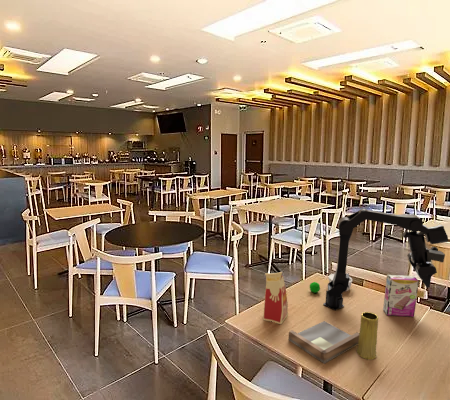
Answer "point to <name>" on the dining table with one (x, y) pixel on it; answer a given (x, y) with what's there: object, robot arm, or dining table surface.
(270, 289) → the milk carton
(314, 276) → the dining table surface
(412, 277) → the candy bar box
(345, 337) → the arena
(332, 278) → the ramekin
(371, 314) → the vase
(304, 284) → the dining table surface
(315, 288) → the green pom pom ball
